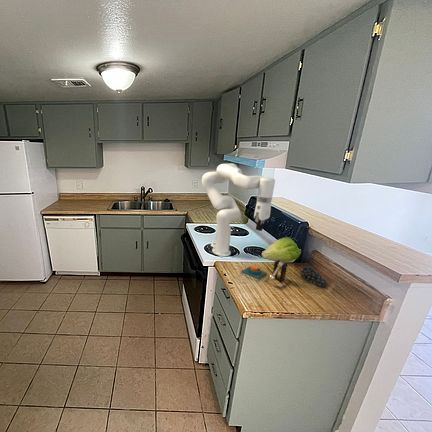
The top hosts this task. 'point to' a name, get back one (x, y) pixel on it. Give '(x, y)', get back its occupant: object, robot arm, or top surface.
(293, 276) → the top surface
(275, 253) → the lettuce
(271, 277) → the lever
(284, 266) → the bracket
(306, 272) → the fruit
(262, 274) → the control block
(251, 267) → the button
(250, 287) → the top surface
